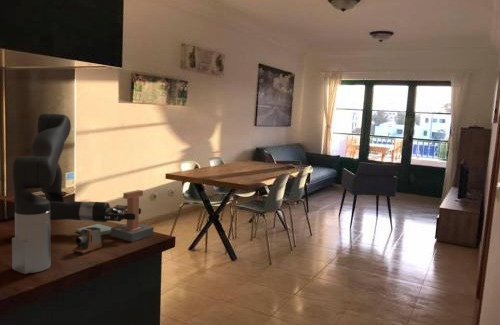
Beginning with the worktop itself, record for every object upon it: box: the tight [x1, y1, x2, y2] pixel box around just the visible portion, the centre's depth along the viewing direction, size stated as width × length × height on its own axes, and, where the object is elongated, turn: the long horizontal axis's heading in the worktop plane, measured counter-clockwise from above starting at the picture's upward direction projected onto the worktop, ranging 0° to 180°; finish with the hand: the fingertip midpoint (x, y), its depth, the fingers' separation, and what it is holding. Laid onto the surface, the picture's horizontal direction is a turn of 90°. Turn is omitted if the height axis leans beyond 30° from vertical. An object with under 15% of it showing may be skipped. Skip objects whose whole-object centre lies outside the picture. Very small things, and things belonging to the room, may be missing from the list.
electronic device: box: [71, 227, 102, 256], centre depth 139 cm, size 4×10×8 cm, turn 161°
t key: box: [122, 189, 144, 231], centre depth 156 cm, size 8×5×17 cm, turn 151°
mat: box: [76, 223, 113, 236], centre depth 160 cm, size 10×10×1 cm
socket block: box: [110, 223, 154, 243], centre depth 157 cm, size 11×11×3 cm
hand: (138, 213), depth 156 cm, fingers open, 8 cm apart
